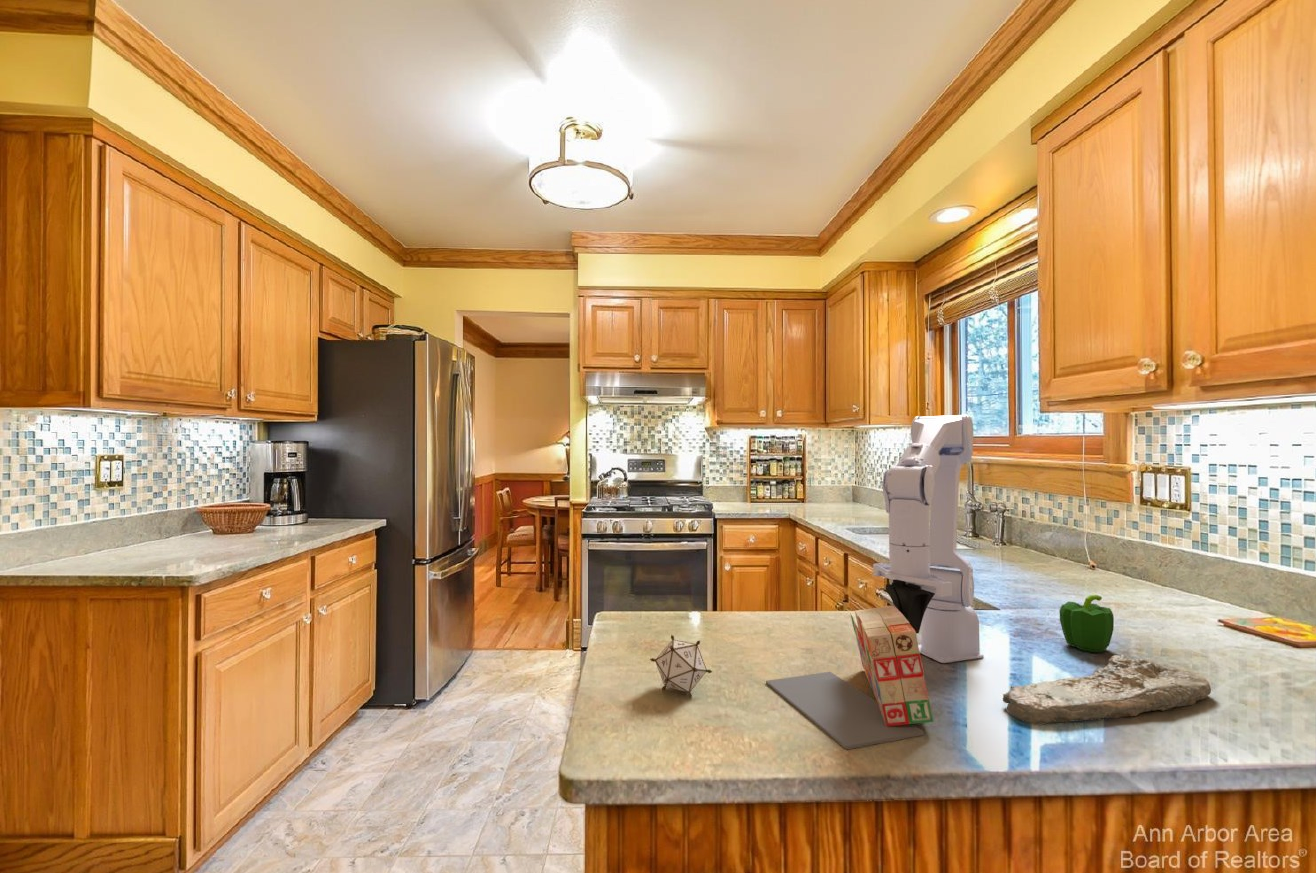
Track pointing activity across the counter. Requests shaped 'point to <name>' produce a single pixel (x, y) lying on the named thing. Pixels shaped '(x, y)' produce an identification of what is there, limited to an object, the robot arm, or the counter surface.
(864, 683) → the counter surface
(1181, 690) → the long grey stone
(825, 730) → the mat
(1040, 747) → the counter surface
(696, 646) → the game die
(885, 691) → the stack of blocks
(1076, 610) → the bell pepper
